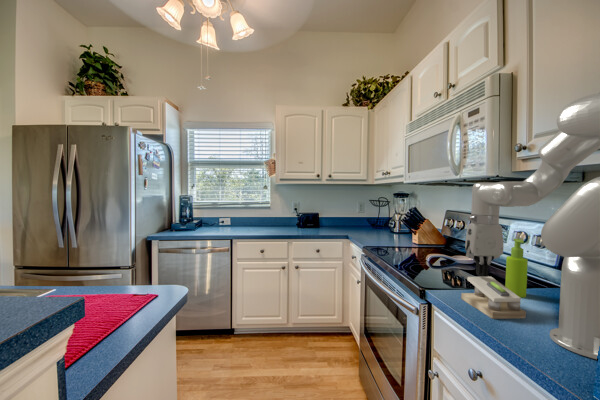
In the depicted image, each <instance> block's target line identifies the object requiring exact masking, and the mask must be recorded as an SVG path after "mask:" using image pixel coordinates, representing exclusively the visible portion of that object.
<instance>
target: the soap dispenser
mask: <svg viewBox="0 0 600 400" xmlns="http://www.w3.org/2000/svg"><path fill="white" fill-rule="evenodd" d="M513 241H514V246H513V247H511V250H510V255H508V256H506V262H505V284H504V286H505V287H506V288H508V289H509V290H510V291H512V292H513V293H515V294H516V295H517V296H519V297H520V298H521V299H524V298H527V287H528V285H527V284H528V266H529V265H528V263H529V262H528V260H529V259H528V258H525V257H524V248H522V247H521V246H522V245H521V244H525V242H524V240H523V239H522V238H513Z"/></svg>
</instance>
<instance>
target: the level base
mask: <svg viewBox="0 0 600 400" xmlns="http://www.w3.org/2000/svg"><path fill="white" fill-rule="evenodd" d="M460 299H461V300H462V301H464V302H465V303H467V304H468V305H470V306H471V307H473V308H475V309H476V310H478V311H480V312H481V313H482V314H484V315H485V316H487V317H489V318H490V319H494V320H498V319H500V320H502V319H504V320H505V319H526V317H527V316H526V314H527V311H525V310H524V309H522V308H521V301H520V302H493V301H492V300H491V299H490V298H488V297H487V296H486V295H485V294H484V293H482V292H481V291H480V290H479V289H478V288H476V287H475V286H474V292H461V295H460Z"/></svg>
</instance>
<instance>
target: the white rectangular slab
mask: <svg viewBox="0 0 600 400" xmlns="http://www.w3.org/2000/svg"><path fill="white" fill-rule="evenodd" d="M466 280H467V281H468V282H470V283H469V284H472V286H474V288H475V287H476V288H478V289H479V290H480V291H481V292H482V293H484V294H485V295H486V296H487V297H488V298H490V299H491V300H492V301H493V302H520V303H521V301H522V300H521V299H522V298H520V297H519V296H517V295H516V294H515V293H513V292H512V291H510V290H509V289H508V288H506V287H505V285H504V284H503V283H501V282H499V281H498V280H496V279H495V278H494V277H492V276H488V277H485V276H484V277H482V276H467V279H466Z"/></svg>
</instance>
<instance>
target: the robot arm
mask: <svg viewBox="0 0 600 400" xmlns="http://www.w3.org/2000/svg"><path fill="white" fill-rule="evenodd" d="M556 127H557V128H558V130H559V131H558V132H556V134H554V135H553V136H551V138H550V139H549V140H547V141H546V142H545V143H544V144H542V146H540V147H539V149H538V151H537V152H538V156H539V158H540V159H541V163H540V166H539V167H538V168H537V169H536V170H535V172H533V173H531V175H530V176H528V177H527V178H526V179H523V181H513V180H512V181H499V182H498V181H497V182H484V181H483V182H476V183H474V184H473V185H472V189H471V192H472V193H471V208H470V209H471V212H470V216H468V217H467V220H468V221H469V222H470V223H469V224H468V226H467V230H466V234H465V235H466V236H465V245H464V246H465V249H464V251H465V257H466V258H469V259H471V260H473V261H474V263H475V273H476V275H477V276H478V277H489V265H491V263H492V261H493V260H496V259H499V258H500V257H501V256H502V255H503V254H504V232H503V227H502V225H501V224H500V207H502V208H508V207H509V208H513V207H529V206H533V205H534V204H537V203H539V202H541V201H542V200H543V199H545V198H546V197H548V196H549V195H550V194H552V193H553V192H554V191H556V190H557V189H558V188H560V186H562V184H564V181H565V180H566V179H567V177H568V176H569V174H570V172H571V171H572V170H573V169H574V168H575V167H576V166H578V165H579V164H580V163H583V161H584V160H586V159H587V158H588V157H590V156H591V155H592V154H594V153H595V152H596V151H598V150H599V149H600V92H596V93H592V94H589V95H585V96H583V97H580V98H577V99H575V100H572V101H571V102H570V103H568V104H567V105H566V106H564V107H563V108H562V109H561V111H560V112H559V114H558V116H557V119H556ZM540 237H541V238H540V239H541V241H542V244H543V246H544V247H545V248H546V249H547V250H548V251H550V252H551V253H553V254H555V255H557V256H560V257H563V261H562V265H561V274H560V291H559V292H560V293H559V312H558V327H556V328H552V329H550V330H549V338H550V339H551V341H553V342H554V343H556V344H557V345H559V346H560V347H562V348H564V349H566V350H568V351H571V352H572V353H574V354H577V355H580V356H584V357H585V358H586V357H587V358H590V359H593V360H597V356H598V351H599V346H600V176H597V177H595V178H593V179H590V180H589V181H587V182H585V183H584V184H582V185H581V186H579V188H577V189H576V190H575V191H574V192H573V193H572V194H571V195H570V197H568V199H566V200H565V201H564V203H563V204H561V206H560V207H558V208H557V210H555V211H554V212H553V214H552V215H550V217H548V219H547V220H546V221H545V222H544V224H543V226H542V228H541V232H540Z"/></svg>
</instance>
